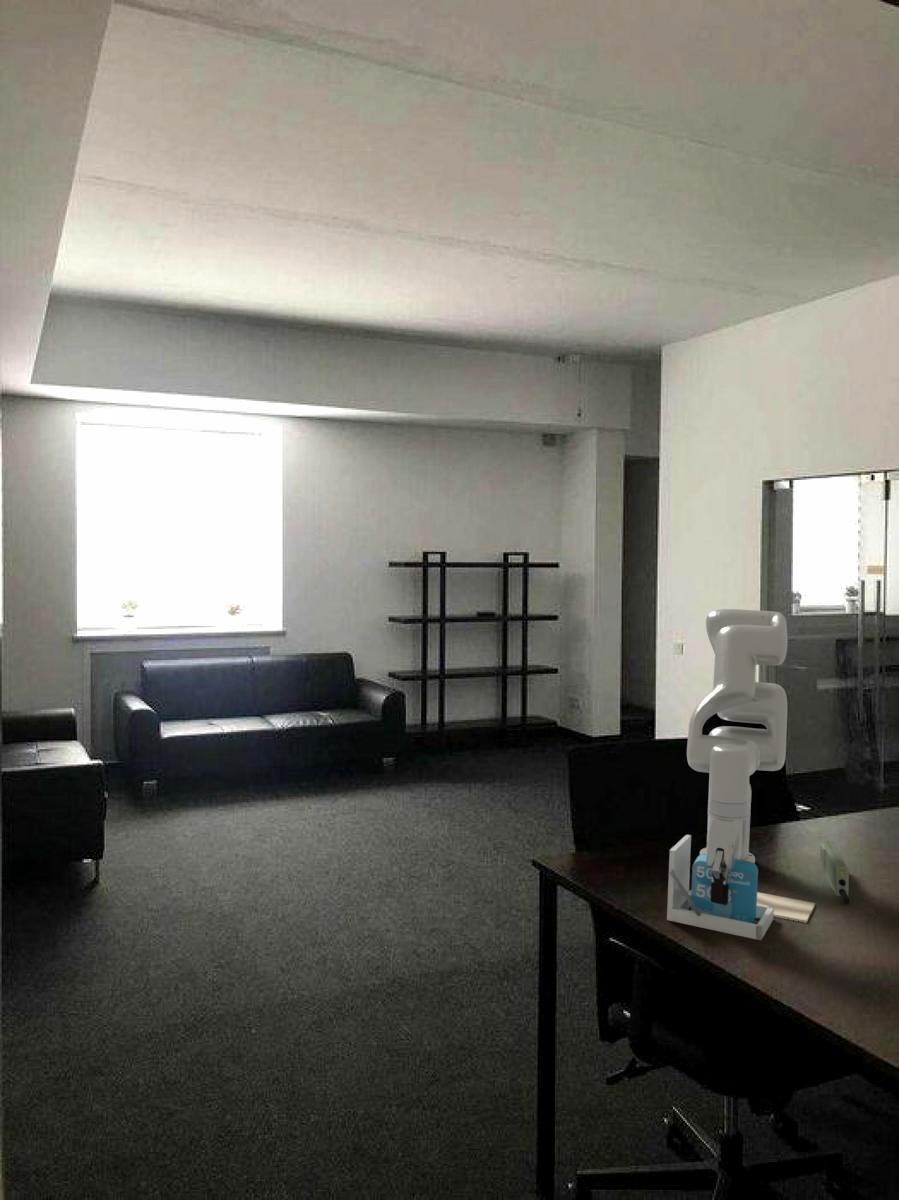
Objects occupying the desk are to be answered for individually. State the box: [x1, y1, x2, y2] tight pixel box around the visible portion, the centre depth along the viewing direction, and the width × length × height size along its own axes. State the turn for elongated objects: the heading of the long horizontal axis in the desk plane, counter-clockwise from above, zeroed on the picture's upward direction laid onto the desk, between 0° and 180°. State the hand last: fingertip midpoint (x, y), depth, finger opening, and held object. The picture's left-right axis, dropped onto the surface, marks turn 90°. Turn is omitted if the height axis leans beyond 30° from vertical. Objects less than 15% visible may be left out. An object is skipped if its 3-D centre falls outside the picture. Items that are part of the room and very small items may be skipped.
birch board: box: [757, 891, 816, 924], centre depth 198 cm, size 11×17×1 cm, turn 61°
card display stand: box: [666, 834, 774, 941], centre depth 189 cm, size 13×18×14 cm
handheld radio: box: [819, 839, 851, 905], centre depth 211 cm, size 7×3×25 cm
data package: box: [690, 854, 759, 924], centre depth 189 cm, size 12×4×12 cm, turn 66°
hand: (724, 896), depth 189 cm, fingers open, 7 cm apart
